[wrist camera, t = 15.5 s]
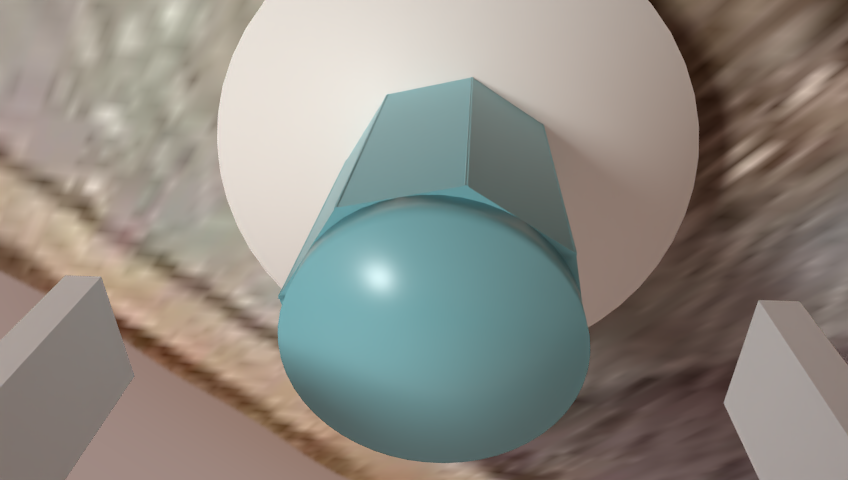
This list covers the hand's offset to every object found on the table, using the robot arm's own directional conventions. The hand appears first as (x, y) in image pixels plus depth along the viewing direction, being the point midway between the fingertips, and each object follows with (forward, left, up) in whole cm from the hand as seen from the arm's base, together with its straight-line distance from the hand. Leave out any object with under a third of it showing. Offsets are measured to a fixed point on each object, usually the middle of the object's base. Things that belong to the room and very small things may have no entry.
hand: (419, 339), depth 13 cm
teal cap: (+1, 0, -9) cm, 9 cm away
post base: (0, 0, -11) cm, 11 cm away
